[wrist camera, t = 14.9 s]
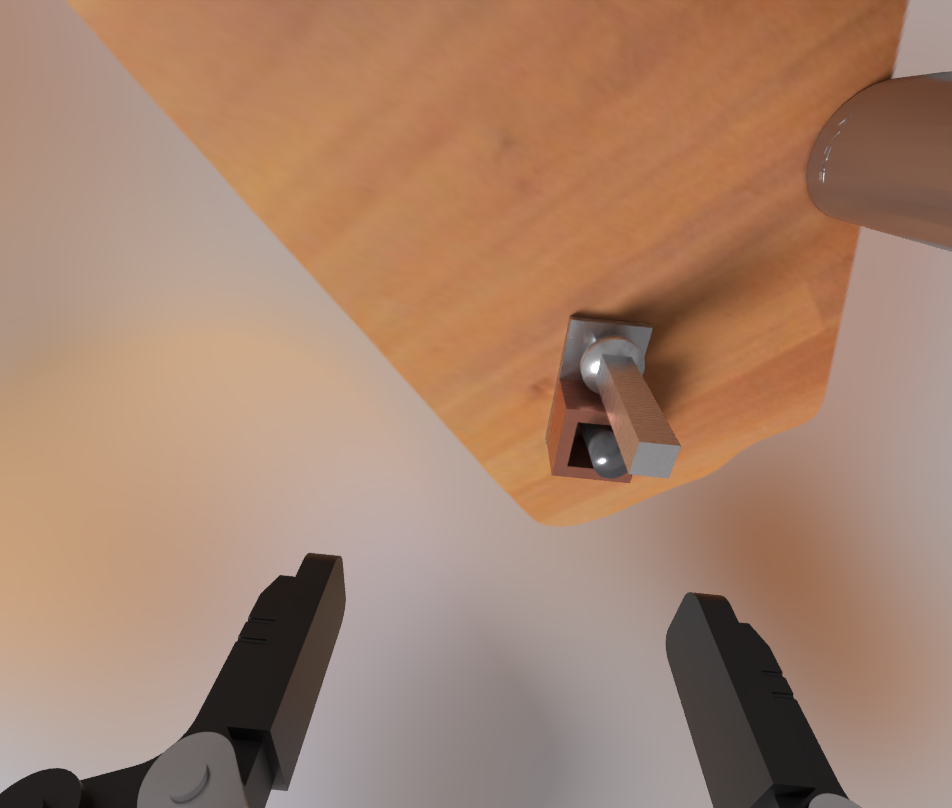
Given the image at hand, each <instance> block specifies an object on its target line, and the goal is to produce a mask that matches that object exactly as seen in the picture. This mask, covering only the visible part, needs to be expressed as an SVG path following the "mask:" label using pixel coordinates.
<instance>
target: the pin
mask: <svg viewBox="0 0 952 808" xmlns="http://www.w3.org/2000/svg"><path fill="white" fill-rule="evenodd" d="M579 425H580V428H581V431H582V434H583V437H584V440H585V443H586V446H587V449H588V452H589V455H590V458H591V461H592V464H593V467H594V470H595V472H596V473H597V474H598V475H599V476H601V477H604V478H609V479H612V478H618V477H620V476H622V475H624V474H626V473H627V472H628V471H627V468H626V465H625V462H624V460H623V457H622V454H621V451H620V449H619V446H618V443H617V440H616V437H615V435H614V432H613V429H612V426H611V425H601V424H591V423H581V422H579Z"/></svg>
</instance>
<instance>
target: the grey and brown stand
mask: <svg viewBox="0 0 952 808" xmlns="http://www.w3.org/2000/svg"><path fill="white" fill-rule="evenodd" d="M652 330H653V327H652V326H651V325H650V324H645V323H635V322H625V321H615V320H605V319H595V318H586V317H576V316H570V318H569V323H568V328H567V333H566V338H565V343H564V348H563V353H562V358H561V363H560V368H559V373H558V378H557V383H556V388H555V393H554V398H553V403H552V408H551V413H550V418H549V423H548V428H547V433H546V444H547V445H548V452H549V459H550V467H551V474H552V475H554V476H564V477H574V478H584V479H594V480H604V481H614V482H624V483H630V481H631V478H632V475H641V476H651V477H661V478H669V476H670V473H671V471H672V468H673V465H674V463H675V460H676V458H677V455H678V453H679V450H680V447H681V445H680V443H679V441H678V440H677V438H676V436H675V434H674V432H673V431H672V429H671V427H670V425H669V423H668V422H667V420H666V418H665V416H664V414H663V413H662V411H661V409H660V407H659V405H658V404H657V402H656V400H655V398H654V396H653V394H652V393H651V391H650V389H649V387H648V385H647V384H646V382H645V380H644V378H643V373H644V369H645V360H644V357H645V353H646V350H647V347H648V343H649V340H650V337H651V333H652ZM579 422H581V423H591V424H601V425H611V426H612V429H613V432H614V435H615V437H616V440H617V443H618V446H619V449H620V451H621V454H622V457H623V460H624V462H625V465H626V468H627V471H628V472H627V473H626V474H624V475H622V476H620V477H618V478H612V479H609V478H604V477H601V476H599V475H598V474H597V473H596V472H595V470H594V467H593V464H592V461H591V458H590V455H589V452H588V449H587V446H586V443H585V440H584V437H583V434H582V431H581V428H580V425H579Z"/></svg>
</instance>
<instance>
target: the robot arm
mask: <svg viewBox="0 0 952 808" xmlns="http://www.w3.org/2000/svg"><path fill="white" fill-rule="evenodd" d="M807 185H808V191H809V193H810V196H811V199H812V201H813V202H814V203H815V205H816V206H817V207H818V209H819V210H821V211H822V212H823V213H825V214H826V215H828V216H830V217H833V218H836V219H839V220H842V221H846V222H849V223H853V224H856V225H860V226H863V227H866V228H870V229H873V230H877V231H880V232H884V233H887V234H891V235H894V236H898V237H901V238H905V239H909V240H912V241H916V242H919V243H923V244H927V245H930V246H933V247H937V248H941V249H944V250H948V251H952V72H941V73H933V74H926V75H919V76H910V77H902V78H895V79H888V80H885V81H883V82H880V83H877V84H874V85H872V86H870V87H868V88H866V89H865V90H863V91H861V92H859V93H858V94H856V95H855V96H854V97H852V98H851V99H850V100H849V101H847V102H846V103H845V104H843V105H842V106H841V108H840V109H839V110H838V111H837V112H836V113H835V114H834V115H833V116H832V117H831V118H830V119H829V121H828V122H827V124H826V125H825V127H824V128H823V129H822V131H821V132H820V134H819V136H818V138H817V140H816V142H815V144H814V146H813V148H812V152H811V155H810V158H809V161H808V168H807ZM345 602H346V595H345V584H344V574H343V562H342V558H341V556H335V555H325V554H315V553H308V554H307V555H306V556H305V558H304V560H303V562H302V564H301V566H300V568H299V570H298V572H297V575H296V577H293V576H283V575H280V576H279V577H278V578H276V580H275V581H273V582H272V583H271V585H269V586H268V587H267V588H266V589H265V590H264V591H263V592H262V593H261V594H260V596H259V598H258V600H257V602H256V604H255V606H254V607H253V609H252V611H251V613H250V615H249V617H248V622H246V623H245V625H244V627H243V629H242V631H241V633H240V635H239V636H238V641H237V642H235V644H234V646H233V648H232V650H231V652H230V654H229V656H228V658H227V660H226V662H225V664H224V665H223V667H222V669H221V671H220V673H219V675H218V677H217V679H216V681H215V683H214V685H213V687H212V689H211V691H210V692H209V695H208V696H207V698H206V700H205V702H204V704H203V706H202V708H201V710H200V712H199V714H198V716H197V717H196V719H195V721H194V722H193V724H192V725H191V727H190V728H189V729H188V731H187V732H186V733H185V734H184V735H183V736H182V737H181V738H180V739H179V740H178V741H177V742H176V743H175V744H173V745H172V746H171V747H169V748H168V749H167V750H166V751H165V752H164V753H162V754H160V755H159V756H157V757H155V758H154V759H151V760H149V761H147V762H145V763H142V764H139V765H136V766H133V767H129V768H125V769H121V770H117V771H114V772H110V773H106V774H103V775H99V776H95V777H91V778H87V779H84V780H79V779H78V778H77V776H76V775H74V774H73V773H72V772H71V771H68V770H66V769H60V768H56V769H55V768H54V769H47V770H42V771H39V772H36V773H33V774H31V775H29V776H27V777H25V778H23V779H21V780H19V781H18V782H16V783H14V784H13V785H11V786H10V787H9V788H7V789H6V790H5V791H3V792H2V793H1V794H0V808H265V806H266V803H267V800H268V797H269V794H270V791H271V789H274V790H283V791H287V790H288V787H289V784H290V781H291V778H292V775H293V772H294V769H295V766H296V763H297V760H298V756H299V754H300V750H301V747H302V744H303V741H304V738H305V735H306V732H307V729H308V726H309V723H310V720H311V717H312V714H313V710H314V707H315V704H316V701H317V698H318V695H319V692H320V689H321V686H322V683H323V680H324V677H325V673H326V670H327V667H328V664H329V661H330V658H331V655H332V652H333V649H334V645H335V643H336V639H337V636H338V633H339V630H340V627H341V624H342V620H343V616H344V610H345ZM666 651H667V658H668V661H669V665H670V667H671V671H672V674H673V677H674V681H675V684H676V687H677V691H678V694H679V697H680V700H681V704H682V707H683V709H684V713H685V717H686V720H687V723H688V726H689V730H690V733H691V736H692V739H693V743H694V746H695V749H696V752H697V755H698V759H699V762H700V765H701V768H702V772H703V775H704V778H705V781H706V785H707V788H708V791H709V794H710V798H711V801H712V804H713V807H714V808H861V807H860V806H859V805H857V804H855V803H854V802H852V801H850V800H849V798H848V797H847V795H846V794H845V792H844V791H843V789H842V787H841V786H840V784H839V782H838V780H837V778H836V776H835V774H834V772H833V771H832V768H831V767H830V765H829V763H828V761H827V759H826V757H825V755H824V753H823V751H822V749H821V747H820V745H819V743H818V741H817V739H816V737H815V735H814V733H813V731H812V729H811V727H810V725H809V724H808V722H807V719H806V718H805V716H804V714H803V712H802V710H801V708H800V706H799V704H798V702H797V700H796V699H794V698H793V692H792V690H791V688H790V686H789V685H788V682H787V680H786V678H784V677H783V676H782V670H781V669H780V667H779V665H778V663H777V661H776V659H775V657H774V655H773V653H772V651H771V649H770V647H769V646H768V645H767V644H766V643H765V641H764V640H763V639H762V638H761V637H760V636H759V634H758V633H757V632H756V631H755V630H754V629H753V628H752V627H751V625H750V624H748V623H739V622H738V620H737V618H736V616H735V613H734V611H733V609H732V607H731V605H730V603H729V602H728V600H727V599H726V598H725V597H723V596H721V595H711V594H701V593H691V592H689V593H687V594H686V595H685V596H684V598H683V600H682V602H681V604H680V606H679V608H678V610H677V612H676V614H675V616H674V619H673V620H672V623H671V624H670V626H669V628H668V631H667V635H666Z"/></svg>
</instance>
